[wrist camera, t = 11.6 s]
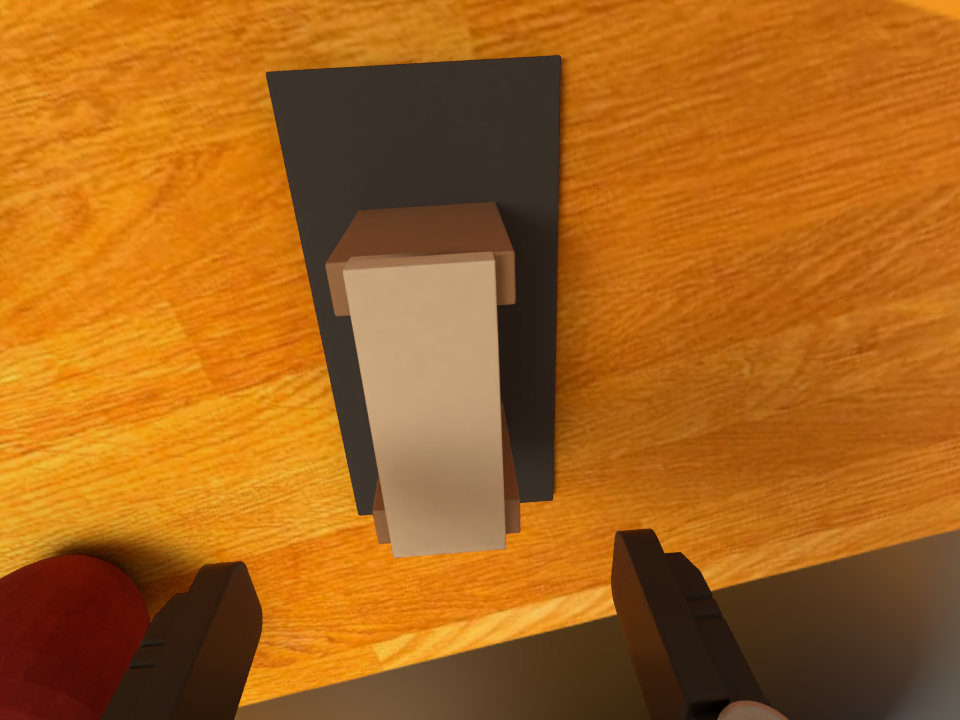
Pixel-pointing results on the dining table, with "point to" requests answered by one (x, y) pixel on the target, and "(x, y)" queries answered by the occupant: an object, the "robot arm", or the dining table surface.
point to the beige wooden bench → (432, 371)
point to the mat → (427, 182)
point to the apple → (66, 637)
